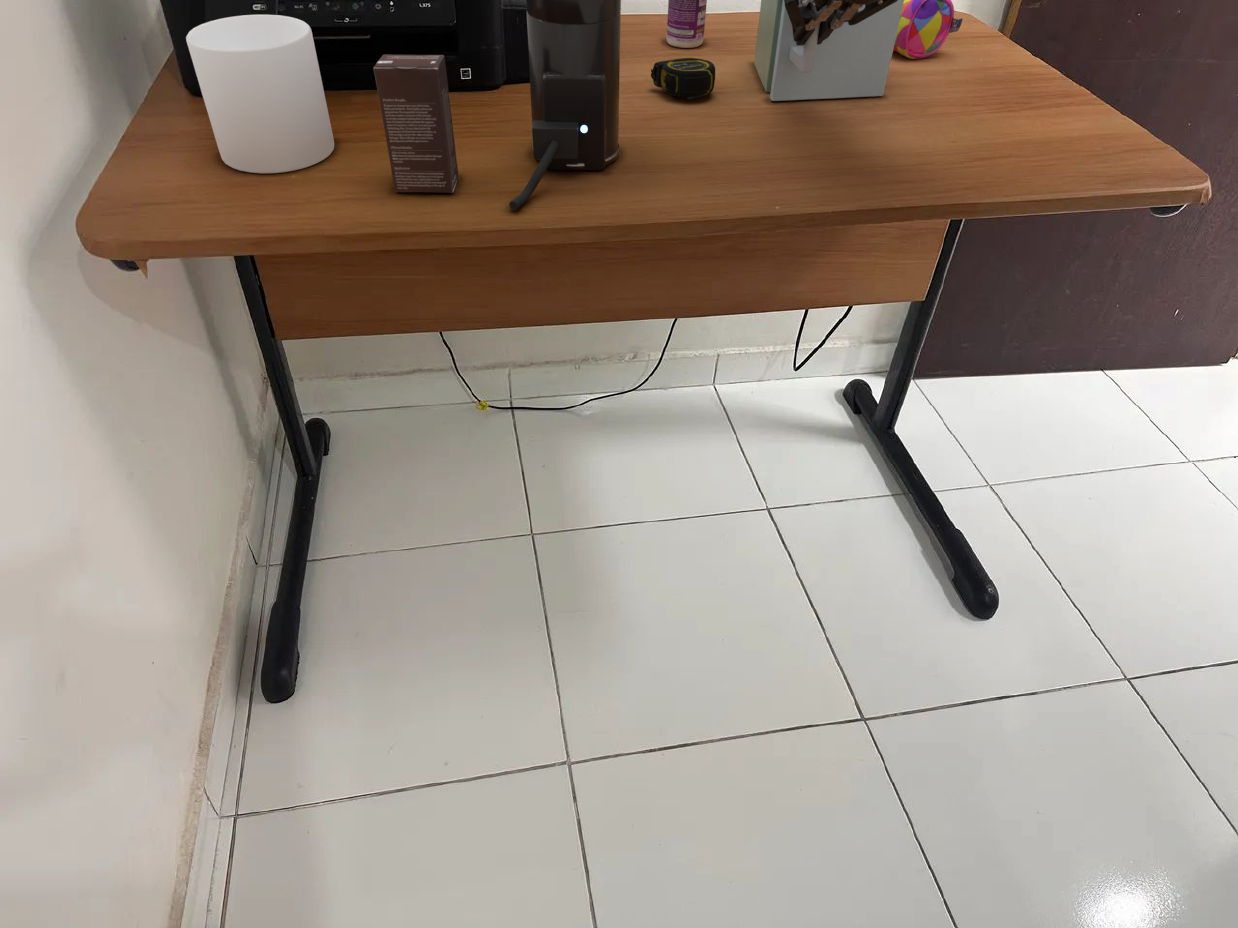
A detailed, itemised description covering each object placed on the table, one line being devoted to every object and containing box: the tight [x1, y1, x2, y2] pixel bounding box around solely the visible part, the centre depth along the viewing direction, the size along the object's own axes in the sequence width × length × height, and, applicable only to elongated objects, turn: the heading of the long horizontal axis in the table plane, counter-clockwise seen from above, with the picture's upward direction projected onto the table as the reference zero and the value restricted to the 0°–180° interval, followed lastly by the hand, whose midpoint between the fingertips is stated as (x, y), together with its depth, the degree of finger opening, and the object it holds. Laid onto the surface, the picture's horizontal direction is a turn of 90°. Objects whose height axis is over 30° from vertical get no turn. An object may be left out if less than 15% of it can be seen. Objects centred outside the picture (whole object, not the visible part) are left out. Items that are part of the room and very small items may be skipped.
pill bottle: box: [665, 0, 708, 49], centre depth 120 cm, size 5×5×10 cm
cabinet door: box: [769, 0, 904, 102], centre depth 101 cm, size 6×15×16 cm, turn 100°
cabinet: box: [753, 0, 783, 93], centre depth 108 cm, size 11×15×17 cm
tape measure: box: [650, 57, 716, 100], centre depth 107 cm, size 7×7×4 cm
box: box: [373, 54, 460, 194], centre depth 84 cm, size 6×4×12 cm
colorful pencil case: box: [893, 0, 964, 60], centre depth 123 cm, size 22×9×9 cm, turn 26°
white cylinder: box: [185, 14, 335, 174], centre depth 89 cm, size 12×12×12 cm
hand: (806, 37), depth 99 cm, fingers closed
